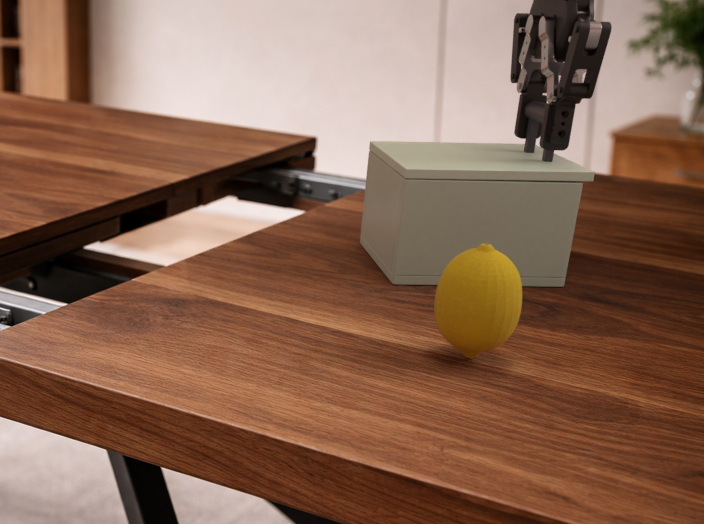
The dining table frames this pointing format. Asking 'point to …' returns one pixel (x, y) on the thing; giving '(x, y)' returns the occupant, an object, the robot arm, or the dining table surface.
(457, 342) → the lemon
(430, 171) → the compartment lid
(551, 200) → the compartment
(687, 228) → the dining table surface
